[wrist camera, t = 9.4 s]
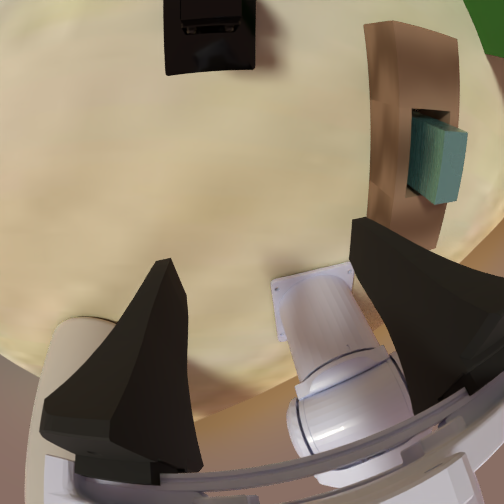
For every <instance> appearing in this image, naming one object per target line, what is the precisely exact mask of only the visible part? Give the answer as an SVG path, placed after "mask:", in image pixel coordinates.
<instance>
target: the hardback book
mask: <svg viewBox="0 0 504 504" xmlns="http://www.w3.org/2000/svg"><path fill="white" fill-rule="evenodd" d="M463 1H464V3H465V5H466V8H467V10H468V12H469V14H470V16H471V18H472V21H473V23H474V25H475V28H476V30H477V33H478V35H479V38H480V41H481V44H482V46H483V49H484V52H485V54H489V55H494V56H498V57H502V58H504V0H463Z"/></svg>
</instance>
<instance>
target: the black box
mask: <svg viewBox="0 0 504 504" xmlns="http://www.w3.org/2000/svg"><path fill="white" fill-rule="evenodd" d="M163 18H164V53H165V72H166V75H167V76H171V75H178V74H186V73H196V72H207V71H222V70H253V69H254V68H255V28H256V0H163Z"/></svg>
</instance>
